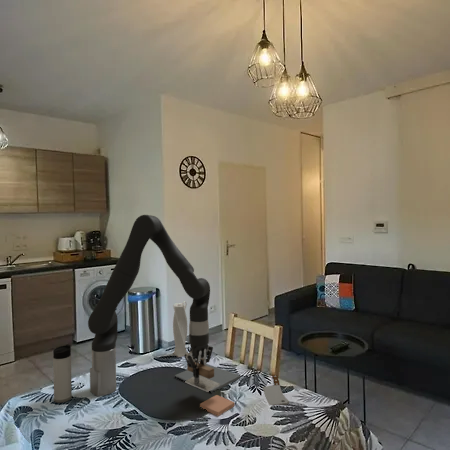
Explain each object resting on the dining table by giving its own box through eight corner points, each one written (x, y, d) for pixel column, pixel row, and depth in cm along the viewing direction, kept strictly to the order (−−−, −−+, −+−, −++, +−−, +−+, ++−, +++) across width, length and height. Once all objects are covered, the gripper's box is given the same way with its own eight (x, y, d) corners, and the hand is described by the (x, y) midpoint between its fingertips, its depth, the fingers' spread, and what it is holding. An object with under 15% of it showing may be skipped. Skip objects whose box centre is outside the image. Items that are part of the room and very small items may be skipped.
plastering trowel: (183, 381, 140) (182, 364, 140) (196, 375, 146) (195, 358, 146) (207, 392, 132) (207, 373, 132) (220, 385, 137) (220, 367, 137)
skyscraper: (192, 355, 184) (191, 300, 183) (177, 359, 179) (177, 303, 179) (184, 350, 191) (183, 297, 190) (170, 354, 186) (169, 299, 186)
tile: (199, 408, 133) (218, 417, 127) (199, 403, 133) (218, 412, 127) (216, 399, 140) (234, 407, 134) (216, 394, 140) (234, 402, 134)
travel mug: (76, 396, 142) (75, 345, 142) (62, 404, 136) (61, 351, 136) (64, 393, 145) (63, 343, 144) (50, 401, 139) (49, 349, 138)
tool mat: (211, 393, 144) (211, 390, 144) (174, 377, 158) (174, 375, 158) (240, 378, 157) (240, 375, 157) (203, 364, 172) (203, 362, 172)
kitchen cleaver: (259, 375, 159) (282, 374, 158) (259, 377, 159) (282, 376, 158) (262, 404, 134) (289, 403, 134) (262, 407, 134) (290, 406, 134)
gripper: (204, 325, 147) (205, 367, 147) (178, 333, 136) (179, 379, 137) (218, 329, 142) (218, 373, 142) (192, 338, 131) (192, 385, 132)
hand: (199, 376), depth 139 cm, fingers closed on plastering trowel, 2 cm apart
